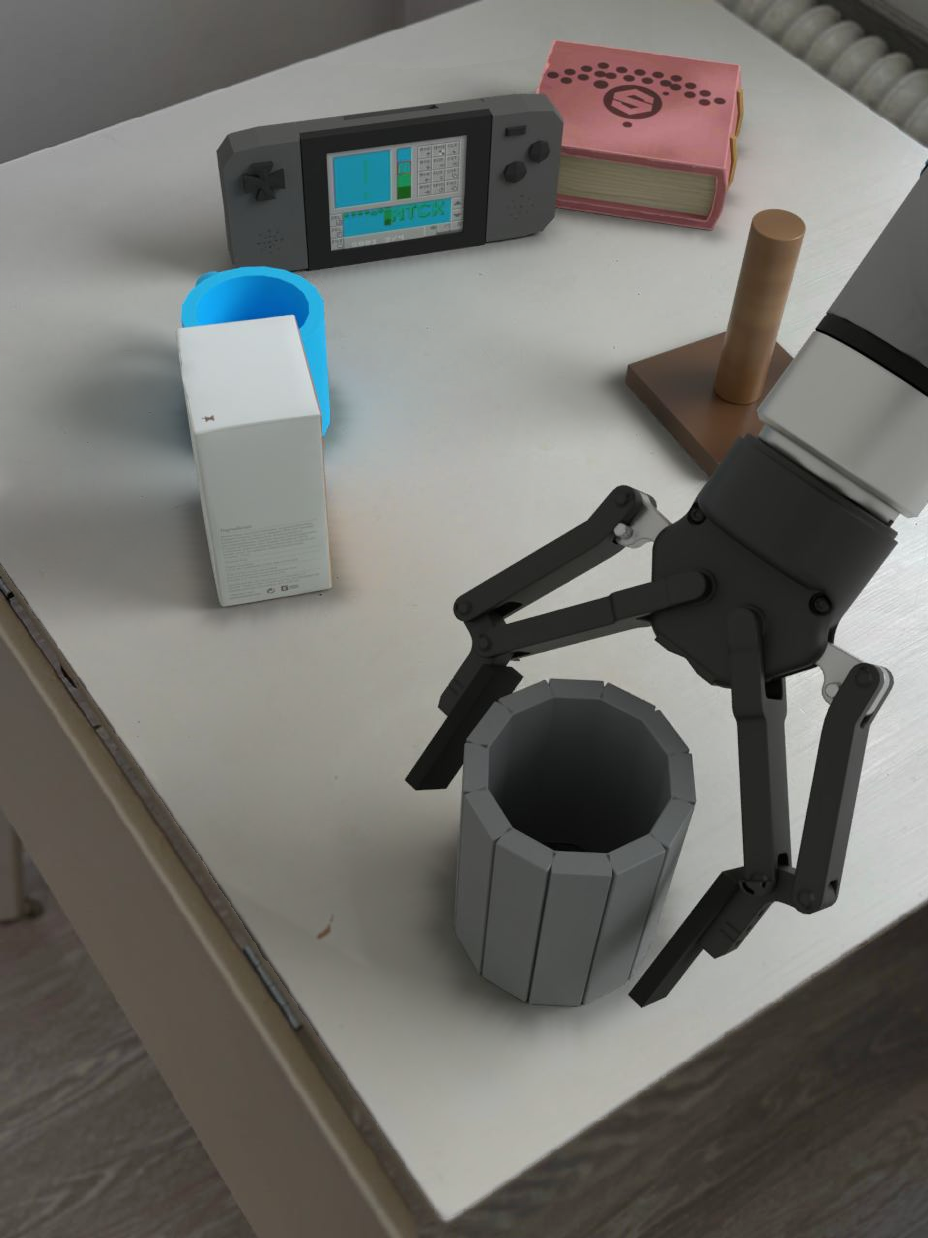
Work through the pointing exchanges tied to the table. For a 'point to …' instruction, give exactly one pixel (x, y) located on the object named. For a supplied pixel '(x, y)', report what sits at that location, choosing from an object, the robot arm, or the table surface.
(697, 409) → the stand
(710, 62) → the book
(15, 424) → the table surface
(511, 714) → the slatted grey tube
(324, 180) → the handheld gaming console
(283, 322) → the small box
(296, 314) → the mug
